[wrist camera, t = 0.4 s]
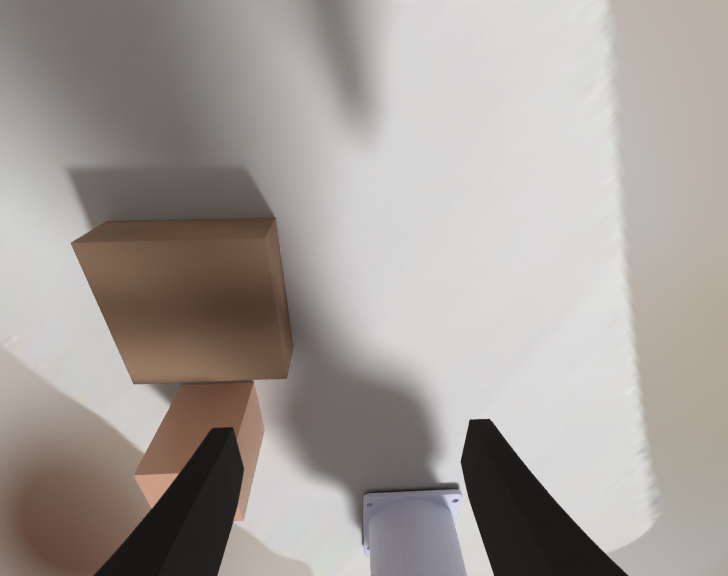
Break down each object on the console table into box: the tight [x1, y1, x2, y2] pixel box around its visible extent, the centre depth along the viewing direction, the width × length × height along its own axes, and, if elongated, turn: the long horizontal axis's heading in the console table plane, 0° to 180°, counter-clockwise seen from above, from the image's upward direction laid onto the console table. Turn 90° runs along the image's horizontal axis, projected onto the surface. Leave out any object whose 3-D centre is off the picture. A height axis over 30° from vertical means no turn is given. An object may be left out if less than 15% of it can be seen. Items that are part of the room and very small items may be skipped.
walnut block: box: [71, 218, 293, 384], centre depth 18 cm, size 8×8×3 cm
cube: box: [134, 382, 264, 521], centre depth 21 cm, size 4×4×6 cm
